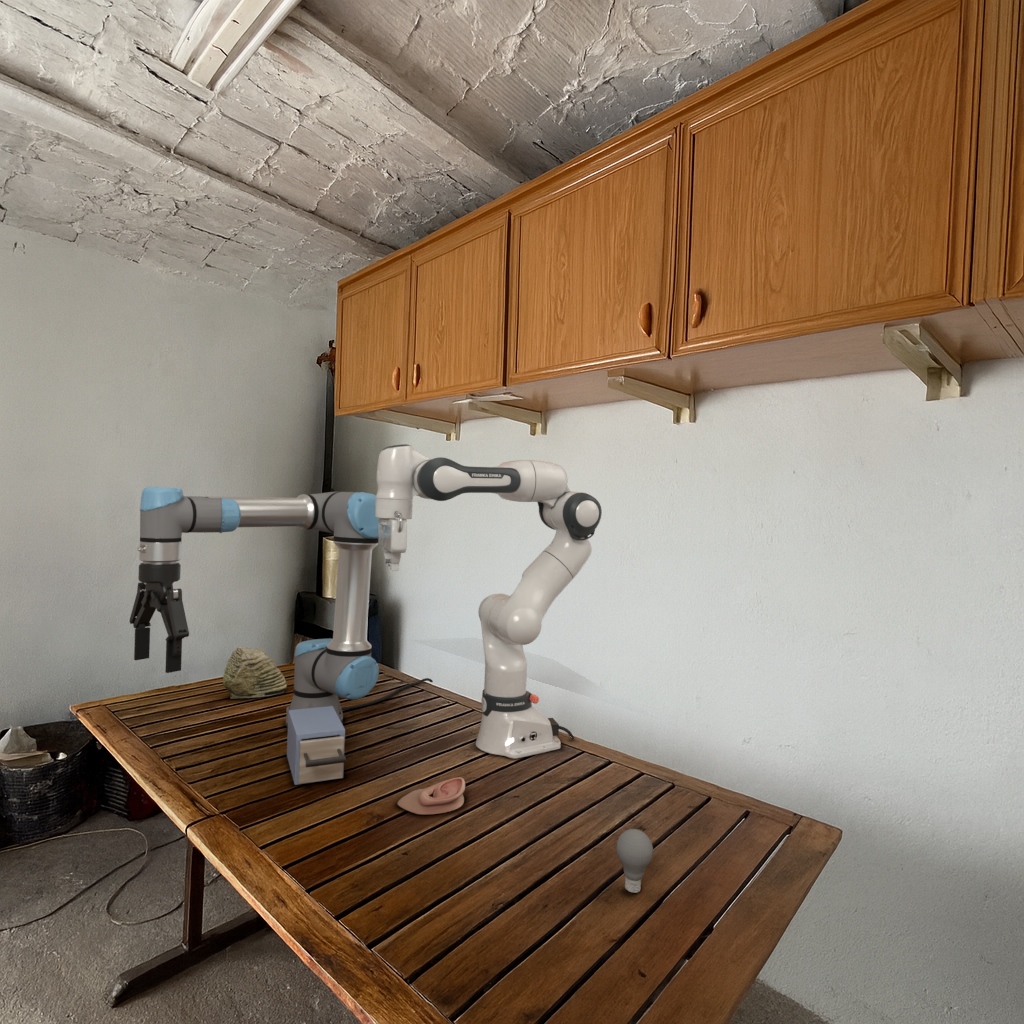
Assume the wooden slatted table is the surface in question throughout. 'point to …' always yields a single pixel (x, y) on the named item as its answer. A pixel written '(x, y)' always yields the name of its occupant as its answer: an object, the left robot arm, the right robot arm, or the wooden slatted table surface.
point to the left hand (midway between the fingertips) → (157, 665)
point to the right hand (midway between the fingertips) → (391, 568)
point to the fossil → (252, 674)
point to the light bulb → (634, 857)
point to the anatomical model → (435, 798)
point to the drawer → (321, 759)
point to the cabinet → (310, 731)
